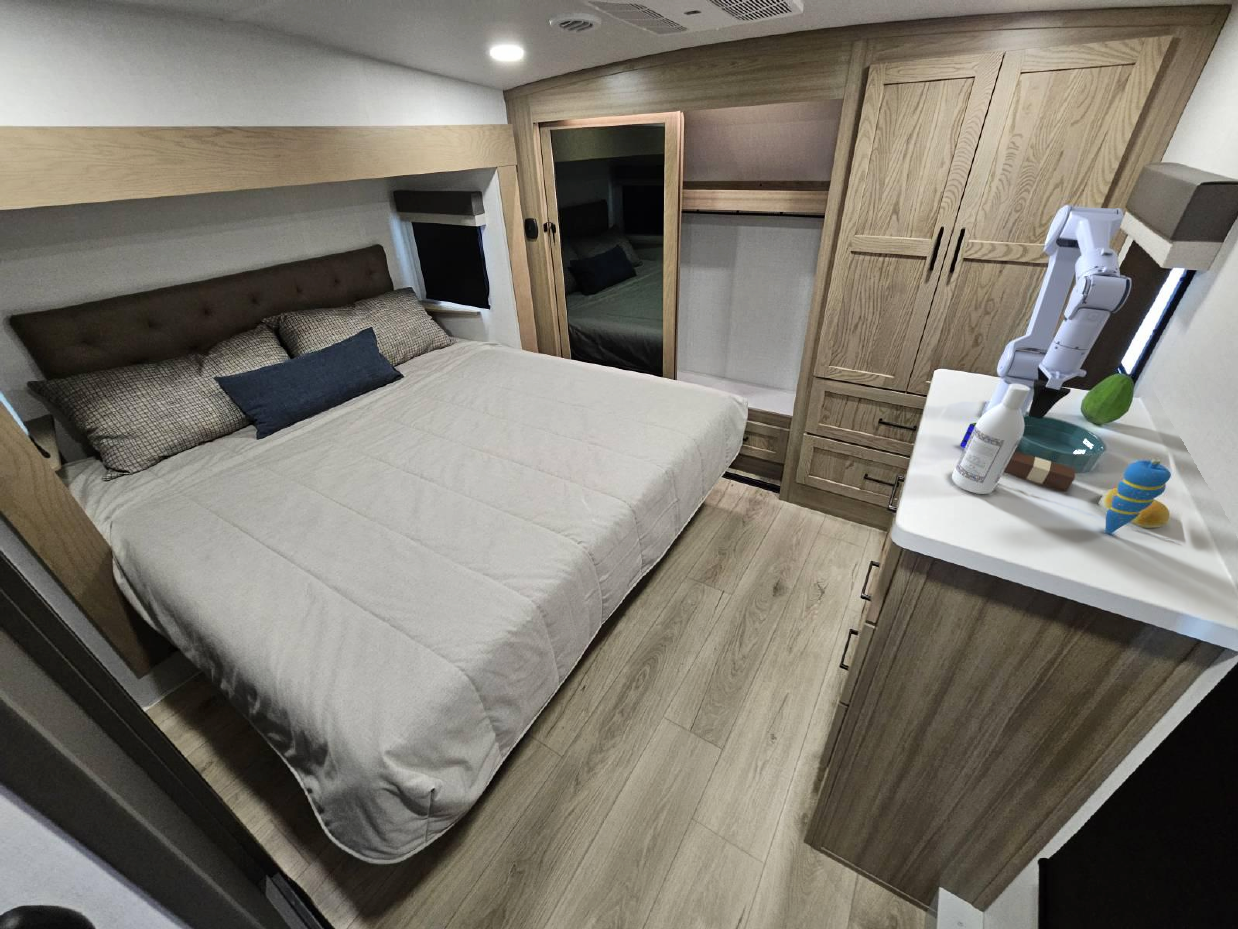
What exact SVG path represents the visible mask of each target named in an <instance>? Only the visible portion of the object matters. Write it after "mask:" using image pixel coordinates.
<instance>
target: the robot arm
mask: <svg viewBox="0 0 1238 929" xmlns="http://www.w3.org/2000/svg"><path fill="white" fill-rule="evenodd" d="M1123 219H1124V213H1123V209H1122V208H1120V207H1116V208H1106V207H1105V208H1104V207H1089V206H1075V205H1074V206H1073V205H1070V204H1065V205H1064V206H1063V207H1061V208H1059V210H1058V211H1057V212H1056V214H1055V215H1054V218H1053V219H1052V222H1051V224H1050V226H1049V229H1048V232H1047V236H1046V239H1045V242H1044V248H1043V252H1044V253H1045V254H1047V255H1048V256H1049V261H1048V264H1047V269H1046V272H1045V275H1044V278H1043V281H1042V284H1041V287H1040V290H1039V293H1038V295H1037V296H1038V297H1037V299H1036V302H1035V306H1034V308H1033V311H1032V314H1031V317H1030V320H1029V323H1028V326H1027V329H1026V332H1025V335H1023V336H1020V337H1017V338H1015V339H1013V340H1011V341H1009V342H1008V343H1007V344H1006V346H1005V348H1004V351H1003V353H1002V354H1001V356H1000V358H999V361H998V364H997V367H996V373H997V375H998V377H1000V379H999V381H998V383H997V385H996V387H995V389H994V392H993V393H992V396H991V398H990V400H987V401H986V403H985V406H984V408H983V410H982V413H981V416H983V415H984V414H985V413H986V412H987V411H989V410H990V409H992V408H994V407H995V406H997V405H999V404H1000V403H1002V400H1003V398H1004V396H1005V394H1006V392H1007V390H1008V388H1009V386H1010V384H1013V383H1016V384H1022V385H1025V386H1027V387H1029V388H1030V392H1029V394H1028V396H1027V398H1026V400H1025V402H1024V404H1023V405H1022V407H1021V411H1022V415H1027V410H1028V409H1029V410H1028V415H1029V416H1030V417H1034V418H1038V419H1042V418H1043V417H1044V416H1045V417H1046V415H1047V414H1048V413H1049V411H1050V410H1051V409H1052V408H1053V407H1054V406H1055V405H1056V404H1057V403H1058V402H1059V401H1061V400H1062V399H1063V398H1065V397H1067V396H1068V395H1069V394H1070V393H1071V392H1072V391H1071V388H1068V387H1064V386H1062V385H1064V383H1065V382H1067V381H1068V380H1071V379H1073V378H1075V377H1081V378H1085V376H1086V375H1087V371H1086V370H1085V369H1081V368H1082V366H1083V364H1084V363H1085V360H1086V358H1087V357H1088V355H1089V354H1090V351H1091V349H1092V348H1093V346H1094V344H1095V342H1096V341H1097V339H1098V337H1099V335H1100V333H1101V332H1102V330H1103V329H1104V326H1105V325H1106V323H1107V321H1108V319H1109V318H1110V316H1111V313H1112V314H1115V313H1117V312H1118V311H1119V310H1120V309H1122V307H1123V306H1124V304H1126V301H1127V300H1128V297H1129V295H1130V293H1131V289H1132V278H1131V277H1130V276H1129V277H1128V276H1126V275H1122V274H1121V271H1120V263H1119V255H1118V253H1117V252H1116V250H1114V248H1110V246H1111V245H1110V244H1111V240H1112V239H1113V238H1114V237H1115V236H1116V235H1117V233H1118V231H1119V230H1120V228H1121V225H1122V222H1123ZM1074 277H1075V285H1074V287H1073V289H1072V291H1071V293H1070V296H1069V300H1068V303H1067V306H1066V308H1065V310H1064V313H1063V315H1064V319H1063V320H1062V322H1061V324H1060V326H1059V328H1058V330H1057V332H1056V329H1057V326H1058V323H1059V321H1060V318H1061V315H1062V312H1063V308H1064V306H1065V303H1066V300H1067V297H1068V294H1069V291H1070V288H1071V286H1072V282H1073V279H1074ZM1055 332H1056V334H1055ZM1029 406H1030V407H1029Z"/></svg>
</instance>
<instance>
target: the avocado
mask: <svg viewBox="0 0 1238 929" xmlns="http://www.w3.org/2000/svg"><path fill="white" fill-rule="evenodd" d="M1134 392H1135V382H1134V380H1133V379H1132V377H1130V376H1129V375H1128V374H1126V373H1121V372H1119V373H1114V374H1113V375H1109V376H1108V377H1106V378H1104V379H1103V380H1102V381H1100V382H1098V383H1097V384H1096V385H1095V386H1094V387H1093V388H1091V389H1090V390H1089V391H1088V392H1087V393H1086V394H1085V396H1083V398H1082V400H1081V403H1080V407H1079V408H1080V413H1081V415H1082V416H1083V417H1084V419H1085V420H1086V421H1088V422H1089V423H1092V424H1097V425H1105V424H1111V423H1113V422H1115V421H1117V420H1119V419H1121V418H1122V417H1124V415H1126V414H1127V413H1128V412H1129V410H1130V409H1131V408H1130V407H1131V406H1132V403H1133V399H1134Z"/></svg>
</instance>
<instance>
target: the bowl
mask: <svg viewBox="0 0 1238 929" xmlns="http://www.w3.org/2000/svg"><path fill="white" fill-rule="evenodd" d="M1023 418H1024V432H1023V435H1022V438H1021V440H1020V442H1019V444H1018V446H1017V447H1016V449H1015V451H1017V452H1020V453H1024V454H1027V455H1031V456H1034V457H1037V458H1041V459H1044V460H1048V461H1051V462H1054V463H1058V464H1061V465H1064V466H1068V467H1071V468H1075V474H1083V473H1088V472H1091V471H1092V470H1094V469H1095V468H1096V467H1097V466H1098V464H1099V462H1100V461H1101V459H1102V458H1103V456H1104V454H1105V453H1106V452H1107V444H1106V443H1105V442H1104V440H1103V439H1102V438H1101V437H1100V436H1098V435H1096V434H1095V433H1093V432H1092V431H1090V430H1088V429H1086V428H1084V427H1082V426H1080V425H1078V424H1074V423H1072V422H1068V421H1066V420H1062V419H1059V418H1055V417H1051V416H1046V415H1045V416H1044V417H1043V418H1042V419H1038V418H1034V417H1030V416H1029V414H1026V415H1023Z"/></svg>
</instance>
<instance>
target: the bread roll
mask: <svg viewBox="0 0 1238 929" xmlns="http://www.w3.org/2000/svg"><path fill="white" fill-rule="evenodd" d="M1116 494H1118V486H1117V487H1113V488H1111V489H1107V491H1106V493H1104V494H1103V495H1102V496H1101V497H1100V498H1099V500H1098V505H1099V507H1100V508H1102V509H1103V510H1104V511H1105V512H1107V511H1108V510H1109V509H1110V508H1111V506H1112V500H1113V498H1114V496H1115V495H1116ZM1170 517H1171V514H1170V510H1169V508H1168V507H1167V506H1166V505H1165V504H1164V503H1163V502H1160V501H1159V500H1157V499H1156V498H1154V500H1153V502H1152V504H1151V505H1150V506H1148V507H1147V508H1145V509H1143V510H1141V512H1140V514H1139V515H1138V516H1137V517H1136V518H1135V519H1133V520H1132V521H1130V522H1129V523H1130V524H1133V525H1135V526H1136V525H1137V526H1138V527H1141V528H1145V529H1153V528H1162V527H1164V526H1166V525H1167V524H1168V522H1169V520H1170Z"/></svg>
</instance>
